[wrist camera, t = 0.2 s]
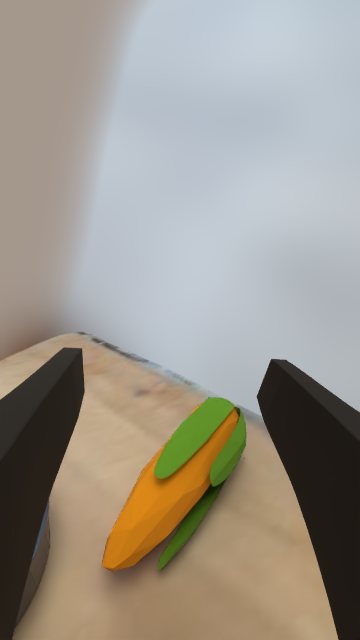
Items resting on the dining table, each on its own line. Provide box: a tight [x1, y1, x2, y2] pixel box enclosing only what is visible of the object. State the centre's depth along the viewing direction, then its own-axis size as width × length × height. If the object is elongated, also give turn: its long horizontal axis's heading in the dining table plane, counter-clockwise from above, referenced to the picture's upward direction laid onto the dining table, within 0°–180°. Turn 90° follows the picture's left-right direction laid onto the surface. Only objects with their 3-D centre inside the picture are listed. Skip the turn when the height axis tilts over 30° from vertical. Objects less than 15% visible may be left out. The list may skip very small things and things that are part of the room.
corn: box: [102, 397, 246, 572], centre depth 25 cm, size 7×8×20 cm
